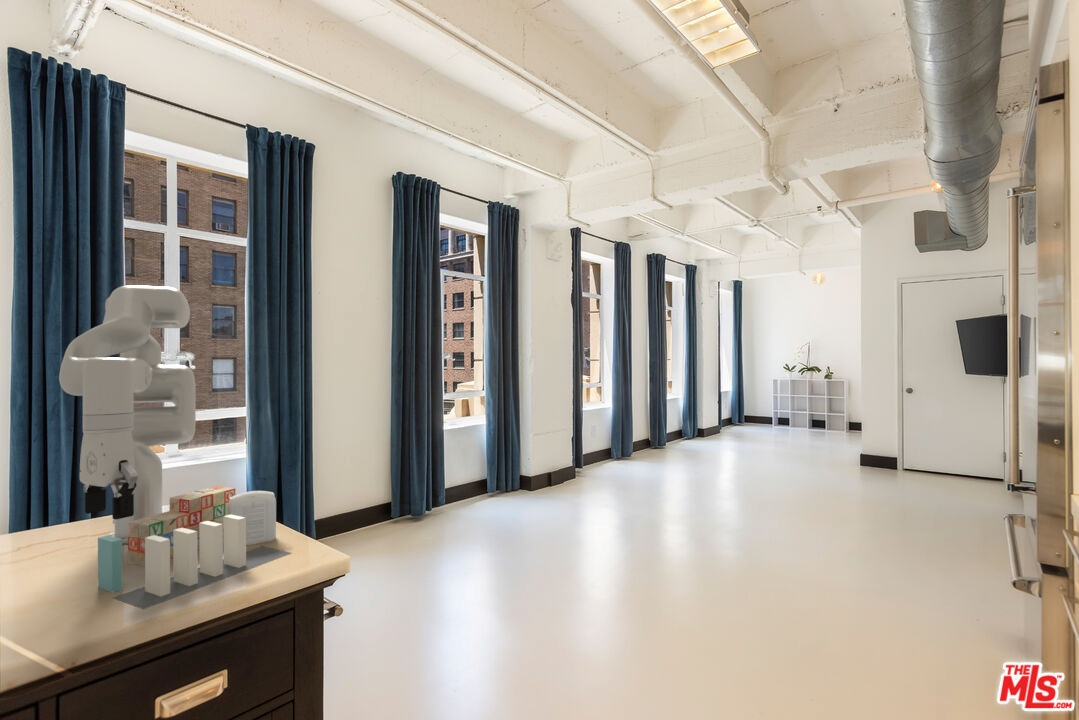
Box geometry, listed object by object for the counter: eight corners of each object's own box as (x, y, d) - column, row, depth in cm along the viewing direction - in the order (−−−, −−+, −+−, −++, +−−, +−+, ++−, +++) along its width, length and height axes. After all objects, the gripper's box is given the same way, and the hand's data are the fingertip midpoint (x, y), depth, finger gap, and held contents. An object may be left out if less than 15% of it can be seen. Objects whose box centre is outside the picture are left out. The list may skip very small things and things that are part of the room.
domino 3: (173, 581, 106) (173, 529, 106) (182, 578, 107) (181, 527, 107) (189, 586, 104) (188, 533, 103) (197, 583, 105) (197, 531, 105)
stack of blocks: (148, 569, 114) (147, 510, 114) (127, 565, 116) (127, 507, 116) (236, 537, 134) (236, 487, 134) (217, 534, 136) (217, 485, 136)
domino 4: (199, 572, 110) (199, 522, 110) (207, 569, 112) (207, 520, 112) (215, 576, 108) (214, 526, 108) (222, 573, 109) (222, 524, 109)
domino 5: (223, 563, 115) (223, 516, 115) (230, 561, 116) (230, 514, 116) (238, 567, 112) (238, 519, 112) (246, 565, 114) (245, 517, 114)
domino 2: (145, 591, 101) (144, 537, 101) (154, 587, 103) (154, 535, 103) (160, 596, 99) (160, 541, 99) (170, 593, 101) (169, 539, 100)
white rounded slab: (274, 537, 133) (274, 486, 133) (277, 542, 130) (277, 490, 130) (226, 545, 128) (226, 492, 128) (227, 550, 124) (227, 496, 124)
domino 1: (98, 590, 103) (97, 537, 103) (108, 587, 105) (107, 535, 105) (112, 595, 101) (111, 541, 101) (122, 592, 102) (121, 539, 102)
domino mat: (112, 600, 99) (112, 597, 99) (262, 548, 126) (262, 545, 126) (143, 612, 94) (143, 609, 94) (292, 555, 121) (292, 552, 121)
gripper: (61, 423, 103) (61, 514, 103) (110, 427, 95) (110, 525, 95) (107, 420, 110) (107, 505, 109) (156, 423, 102) (157, 514, 102)
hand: (109, 514), depth 102 cm, fingers open, 9 cm apart
